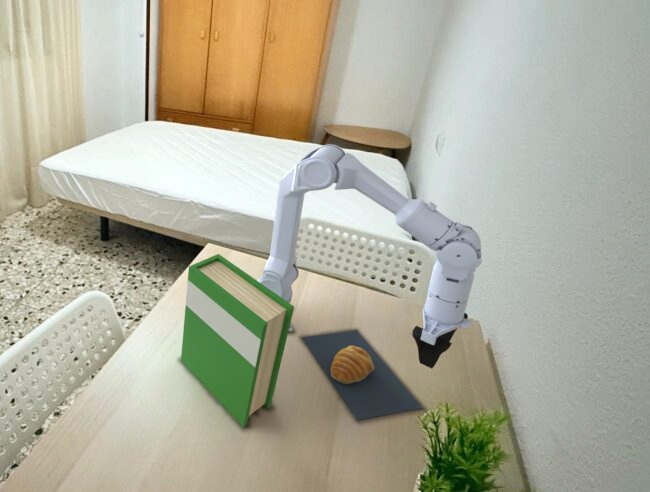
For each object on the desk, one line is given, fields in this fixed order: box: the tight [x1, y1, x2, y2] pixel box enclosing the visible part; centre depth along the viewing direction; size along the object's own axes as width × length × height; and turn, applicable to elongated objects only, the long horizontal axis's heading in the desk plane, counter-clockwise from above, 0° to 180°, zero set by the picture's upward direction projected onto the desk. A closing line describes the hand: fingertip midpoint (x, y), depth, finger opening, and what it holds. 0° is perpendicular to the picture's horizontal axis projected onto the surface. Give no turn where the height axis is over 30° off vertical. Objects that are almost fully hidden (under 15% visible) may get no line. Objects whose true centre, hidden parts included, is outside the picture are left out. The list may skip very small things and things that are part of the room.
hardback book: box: [180, 253, 295, 428], centre depth 74 cm, size 18×7×24 cm, turn 36°
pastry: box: [331, 346, 374, 384], centre depth 82 cm, size 9×7×4 cm
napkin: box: [301, 329, 423, 421], centre depth 83 cm, size 20×14×1 cm
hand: (433, 353), depth 75 cm, fingers open, 7 cm apart
